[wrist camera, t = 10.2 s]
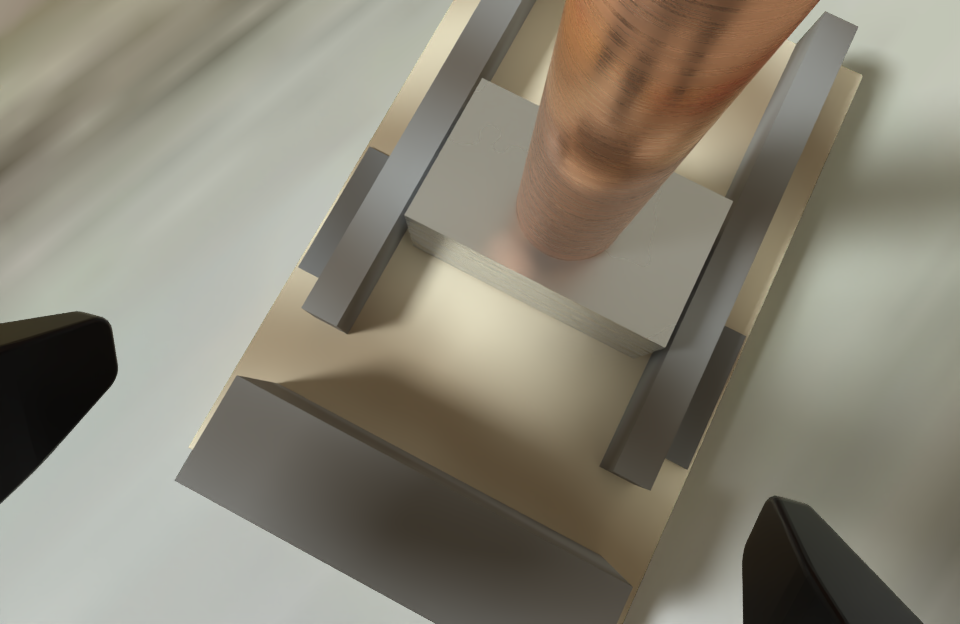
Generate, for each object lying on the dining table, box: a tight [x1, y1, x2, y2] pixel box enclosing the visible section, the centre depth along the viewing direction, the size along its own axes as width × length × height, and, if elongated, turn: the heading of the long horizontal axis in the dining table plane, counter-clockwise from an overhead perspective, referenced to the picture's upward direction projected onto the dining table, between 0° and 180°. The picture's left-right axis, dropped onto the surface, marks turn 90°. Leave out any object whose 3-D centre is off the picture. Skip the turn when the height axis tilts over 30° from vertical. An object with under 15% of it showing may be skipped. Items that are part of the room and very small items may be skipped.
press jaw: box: [405, 0, 820, 359], centre depth 11 cm, size 4×7×13 cm, turn 63°
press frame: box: [175, 0, 863, 624], centre depth 16 cm, size 18×12×4 cm, turn 153°
